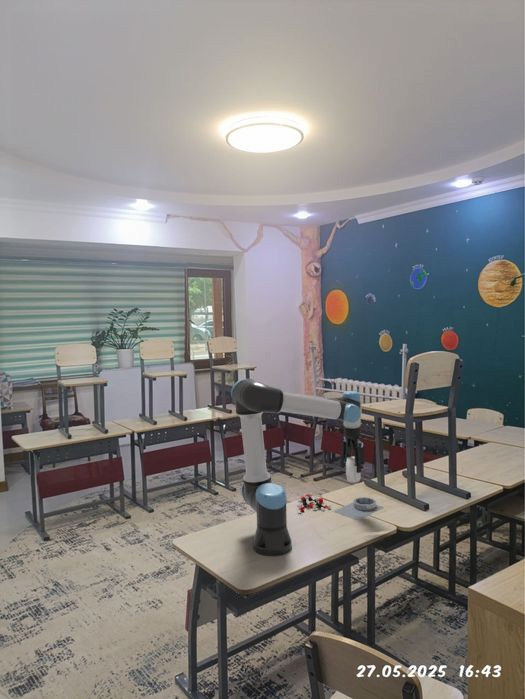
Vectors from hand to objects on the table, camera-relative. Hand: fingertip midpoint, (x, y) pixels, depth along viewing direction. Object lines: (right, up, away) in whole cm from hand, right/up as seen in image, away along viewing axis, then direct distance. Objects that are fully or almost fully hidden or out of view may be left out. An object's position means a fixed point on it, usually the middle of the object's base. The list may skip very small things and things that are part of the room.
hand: (353, 477), depth 219 cm
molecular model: (-17, -17, +10) cm, 26 cm away
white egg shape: (0, -1, 0) cm, 1 cm away
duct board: (+3, -17, +4) cm, 18 cm away
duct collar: (+7, -15, +7) cm, 18 cm away
